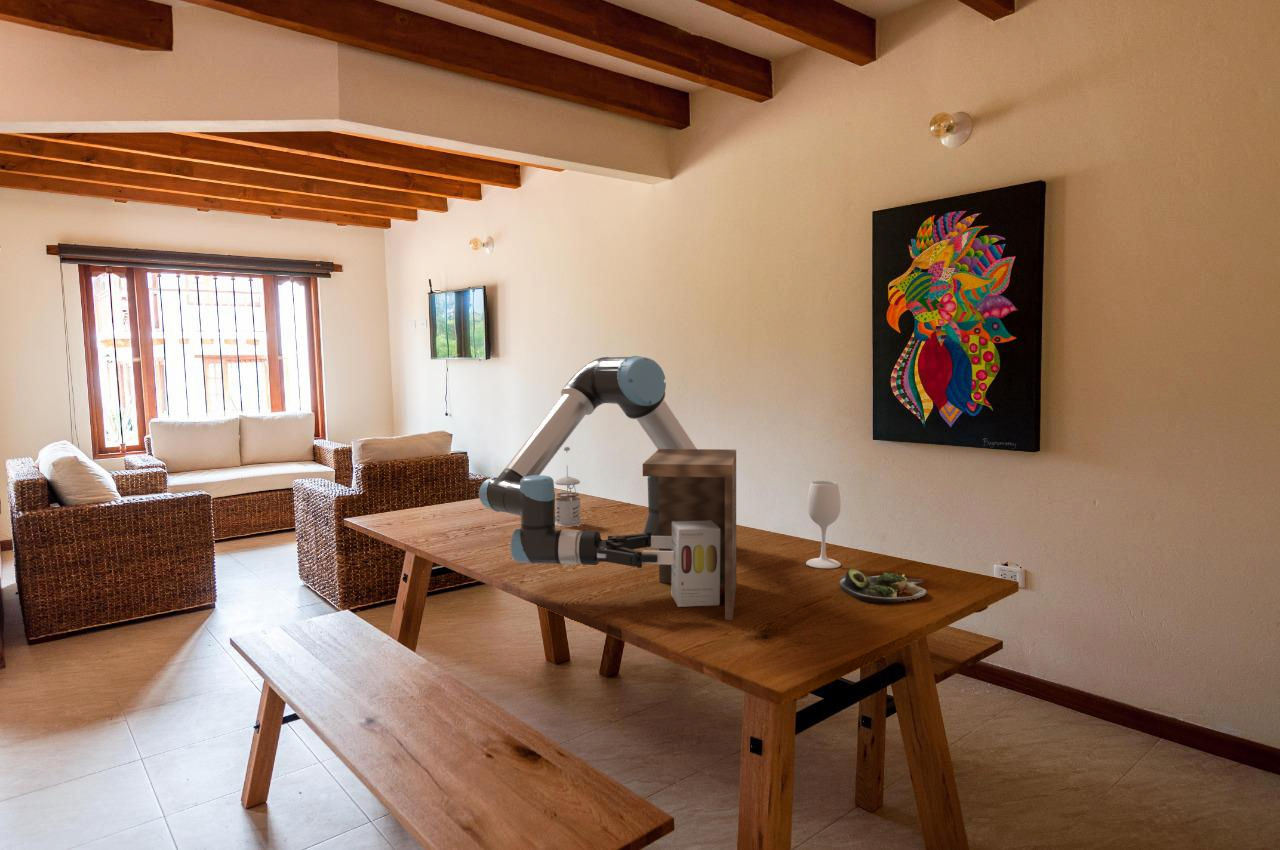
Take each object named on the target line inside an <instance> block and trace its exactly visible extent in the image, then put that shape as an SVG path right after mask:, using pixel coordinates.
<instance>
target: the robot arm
mask: <svg viewBox="0 0 1280 850" xmlns="http://www.w3.org/2000/svg"><path fill="white" fill-rule="evenodd" d="M665 380H666V376H665V373H664V371H663V369H662V367H661V366H660V364H659V363H657V362H656V361H655V360H654V359H651V358H649V357H644V356H638V355H633V356H616V357H615V356H614V357H613V356H610V357H609V356H605V357H599V358H596V359H593V360H592V361H590V362H588V363H587V364H585V365H584V366H583V367H581V368H580V369H579V370H578V371H577V372H576V373H575V374H574V375H573V376H572V377H571V378H570V379H569V381H568V382H567V383H566V384H565V385H564V387H562V389H561V391H560V395H561V396H560V398H559V399H558V401H557V402H556V403H555V405H553V407H552V408H551V409H550V411H549V412H548V413H547V414H546V416H545V417H544V418H543V420H542V421H541V422H540V423H539V425H538V426H537V427H536V428H535V430H534V431H533V432H532V434H531V435H530V436H529V437H528V438H527V440H526V441H525V442H524V444H523V445H522V446H521V447H520V449H519V450H518V451H517V453H515V455H514V457H513V458H512V459H511V460H510V461H509V463H508V464H506V466H505V468H504V469H503V470H502V471H501V473H500V474H499V475H498V476H497V477H495V476H494V477H489V478H487V479H486V480H484V481H483V482H482V484H481V485H480V487H479V490H478V497H479V500H480V502H481V504H482V505H483V507H485V508H487V509H489V510H492V511H494V512H499V513H500V512H501V513H507V514H511V515H515V516H520V528H518V529H515V530H514V531H513V533H512V535H511V537H510V555H511V557H512V559H513V560H514V561H515V562H517V563H526V564H532V565H535V564H541V565H542V564H545V565H546V564H547V565H549V564H551V565H553V564H555V565H556V564H557V565H566V566H567V567H571V566H572V565H580V564H581V565H583V566H597V565H598V564H599V563H600V562H605V563H612V564H617V565H622V566H627V567H628V566H629V567H633V568H637V569H641V568H643V565H659V564H666V565H674V551H659V550H652V549H659V548H664V549H672V536H659V487H658V476H646V477H647V499H648V501H647V504H648V505H647V506H648V508H647V509H648V510H647V511H648V512H647V513H648V514H647V517H646V521H645V525H644V527H643V531H642V533H636V534H623V535H607V539H602V538H601V536H602V535H601V533H600V531H598V530H583V531H581V530H579V529H556V526H555V522H556V492H555V481H554V479H553V477H551V476H549V475H543V474H542V473H543V471H544V470H545V468H547V466H548V465H549V463H550V462H551V461H552V459H554V457H555V456H556V454H557V453H558V451H559V450H560V449H561V448H562V446H563V445H565V442H566V441H567V440H568V439H569V437H570V436H571V435H572V433H573V432H574V431H575V429H576V428H577V427H578V425H579V424H581V422H582V420H583V418H585V416H590V415H591V414H593V412H594V411H595V409H597V408H598V407H599V406H601V405H603V404H612V405H614V404H615V405H618V407H620V409H621V411H622V412H623V413H624V414H625V415H626V417H627V418H629V419H632V420H636V421H637V422H638V424H639V425H640V426H641V428H642V429H643V430H644V432H645V433H646V435H647V436H648V438H649V439H650V440H651V441H652V443H653V444H654V446H655V448H656V449H657V450H658V449H697V448H698V447H696V445H695V444H694V443H693V441H692V439H691V438H690V436H689V435H688V433H687V432H686V431H685V428H683V426H682V425H681V423H680V421H679V420H678V418H677V417H676V416H675V414H674V412H673V411H672V409H671V408H670V407H669V405H668V404H667V402H666V401H665V398H666V389H667V382H665ZM541 474H542V475H541ZM644 548H651V550H647V549H646V550H645V549H644ZM637 549H638V550H637ZM639 549H643V550H642V551H639Z"/></svg>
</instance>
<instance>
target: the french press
mask: <svg viewBox="0 0 1280 850" xmlns="http://www.w3.org/2000/svg"><path fill="white" fill-rule="evenodd" d="M563 451H566V452H568V451H571V448H570V447H569V446H565V447H564V448H563ZM568 467H569V466H566V476H564V477H560V478H558V479H556V481H554V484H555V485H556V486H557V485H559V486H566V490H567V491H566V492H559V493H557V494H556V497H557V498H555V525H558V526H577V525H580V524H582V523H583V524H584V522H583V521H582V520H581V498H580V497H578V496H579V495H580V494H579V493H578V492H577V491H576V486H575V485H579V484H580V483H581V481H580V480H579V479H577V478H574V477H572V476H568V475H569V474H568V473H569V472H568V470H569V469H568ZM571 486H572V487H571ZM571 489H574V491H573V492H572V490H571ZM577 527H578V526H577Z"/></svg>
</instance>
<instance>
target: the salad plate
mask: <svg viewBox="0 0 1280 850" xmlns="http://www.w3.org/2000/svg"><path fill="white" fill-rule="evenodd" d="M905 576H906V574H902V575H898V573H897V572H895V573H892V572H891V573H888V572H883V573H882V574H881V575H873V576H866V575H865V574H864V573H863V572H861V571H860V570H858V569H855V568H850V569H848V570H847V571H846V573H845V575H841V576H839V578H840V579H841V580H840V581H839V586H840V588H841V590H842V591H843V592H845V593H846V594H847V595H848V596H850V597H853V598H854V599H856V600H858V601H862V602H866V603H871V604H894V603H893V602H895V603H901V602H900V601H904V602H907V601H906V600H910V601H913V600H912V599H915V600H918V599H917V598H919V599H921V598H922V597H924V596H926V594H927V593H928V591H927V590H926V589H925V588H923V587H920V586H917V585H918V584H921V583H923V582H924V580H923V579H917V578H907V577H905ZM904 590H906V591H909V592H912V593H913V594H914V595H913V596H911V595H910V596H902V597H900V596H899V597H898V596H897V592H901V591H904ZM920 597H921V598H920Z"/></svg>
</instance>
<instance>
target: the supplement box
mask: <svg viewBox="0 0 1280 850" xmlns="http://www.w3.org/2000/svg"><path fill="white" fill-rule="evenodd" d="M672 551H674V565H672V571H671V583H670V585H671V589H670V592H671V593H670V594H671V596H672V598H673V600H674V602H675V604H676V606H677V607H678V608H683V607H708V606H720V605H721V584H720V528H719V527H718V526H717V525H716V524H715V523H714V522H713V521H711V520H707V521H672Z"/></svg>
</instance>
